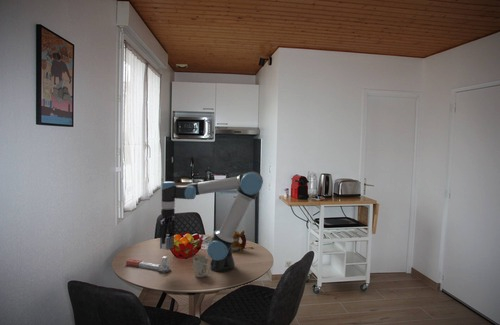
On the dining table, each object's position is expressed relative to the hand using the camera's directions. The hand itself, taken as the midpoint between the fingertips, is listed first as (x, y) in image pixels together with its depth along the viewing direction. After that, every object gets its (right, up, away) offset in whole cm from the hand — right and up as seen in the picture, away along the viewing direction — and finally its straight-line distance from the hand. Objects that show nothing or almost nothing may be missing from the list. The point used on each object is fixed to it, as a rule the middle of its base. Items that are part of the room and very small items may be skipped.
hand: (167, 247), depth 186 cm
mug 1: (+21, -16, -3) cm, 27 cm away
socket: (0, 0, 0) cm, 0 cm away
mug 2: (+38, -14, +45) cm, 61 cm away
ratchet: (-14, -15, +8) cm, 21 cm away
